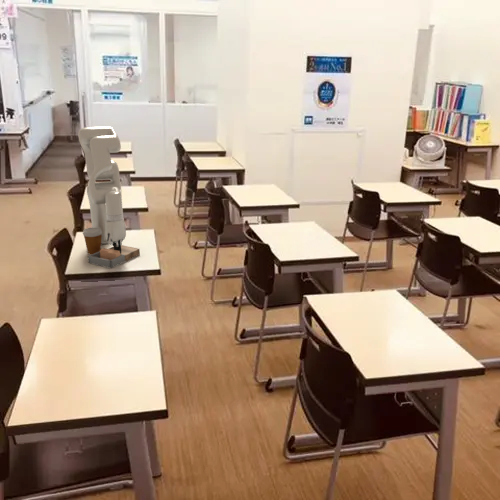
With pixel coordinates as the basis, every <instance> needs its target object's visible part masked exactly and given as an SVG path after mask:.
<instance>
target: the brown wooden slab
mask: <svg viewBox="0 0 500 500" xmlns="http://www.w3.org/2000/svg"><path fill="white" fill-rule="evenodd" d="M108 249H112V250H114V246H112V247H109V248H108ZM123 254H124V255H125V262H128V260H131V259H133V258H135V257H137V256H139V255H140V248H139V247H134V246H133V247H132V246H127V245H124V244H122V245H121V254H120V255H123Z"/></svg>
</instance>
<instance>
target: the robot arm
mask: <svg viewBox="0 0 500 500" xmlns="http://www.w3.org/2000/svg"><path fill="white" fill-rule="evenodd" d="M77 136H78V142H79V144H80V146H81V148H82V151H83V153H84V156H85V157H84V158H85V166H86V172H87V177H88V179H89V180H88V185H87V186H86V195H87V199H88V203H89V209H90V210H89V211H90V219H91V221H90V223H91V228H100V229H101V230H102V237H101V245H107V244H108V245H109V246H110V245H111V246H112V247H114V250H118V251H120V254H121V245H123V241H124V240H125V239H126V236H127V229H126V222H125V219H124V210H123V209H124V208H123V199H122V185H121V179H120V168H119V166H118V163H117V162H116V161H115V160H112V158H111V154H113V153H114V154H115V153H119V152H121V149H122V148H121V147H122V146H121V140H120V138H119V136H118V134H117V132H116V131H115V129H114V128H113V127H112V126H106V125H105V126H89V127H87V126H86V127H83V128H80V129H79V130H78V133H77ZM103 180H110V181H103ZM96 181H103V182H96Z"/></svg>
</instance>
